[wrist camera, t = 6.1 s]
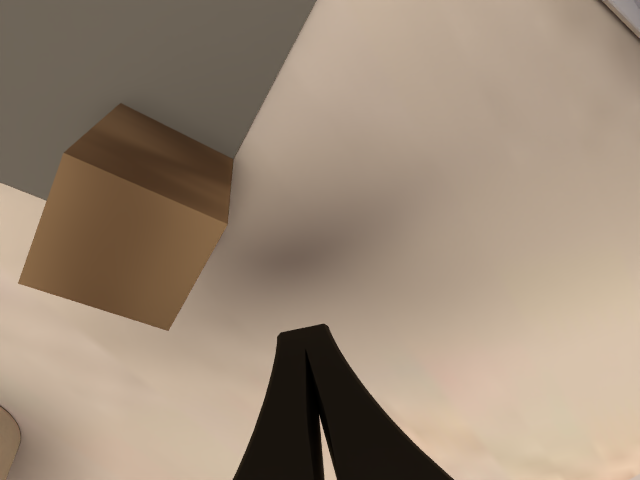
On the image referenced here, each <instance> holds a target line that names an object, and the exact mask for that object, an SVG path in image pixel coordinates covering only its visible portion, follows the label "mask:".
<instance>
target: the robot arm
mask: <svg viewBox="0 0 640 480" xmlns="http://www.w3.org/2000/svg"><path fill="white" fill-rule="evenodd" d="M602 1H603V2H604V3H605V4H606V5H607V6H608V7H609V8H610V9H611V10H612V11H613V12H614V13H615V14H616V15H617V16H618V17H619V18H620V19H621V20H622V21H623V22H624V23H625V24H626V25H627V26H628V27H629V28H630V29H631V30H632V31H633V32H634V33H635V34H636V35H637V36H638V37H639V38H640V0H602ZM319 415H320V419H321V423H322V426H323V430H324V434H325V437H326V441H327V445H328V448H329V452H330V456H331V459H332V463H333V467H334V470H335V474H336V477H337V480H454V479H453V478H452V477H450V476H449V475H448V474H447V473H446V472H445V471H444V470H443V469H442V468H441V467H439V466H438V465H437V464H436V463H435V462H434V461H433V460H432V459H431V458H430V457H428V456H427V455H426V454H425V453H424V452H423V451H422V450H421V449H420V448H419V447H418V446H417V445H416V444H415V443H414V442H413V441H412V440H411V439H410V438H409V437H408V436H407V435H406V434H405V433H404V432H403V431H402V430H401V429H400V428H399V427H398V426H397V425H396V424H395V422H394V421H393V420H392V419H391V418H390V417H389V416H388V415H387V414H386V412H385V411H384V410H383V409H382V408H381V407H380V405H379V404H378V403H377V402H376V400H375V399H374V398H373V397H372V395H371V394H370V393H369V392H368V390H367V389H366V388H365V387H364V385H363V384H362V383H361V381H360V380H359V378H358V377H357V375H356V374H355V373H354V371H353V370H352V368H351V367H350V366H349V364H348V362H347V361H346V359H345V358H344V356H343V355H342V353H341V351H340V350H339V348H338V346H337V344H336V342H335V340H334V339H333V336H332V334H331V332H330V330H329V327H328V326H327V325H325V324H320V325H315V326H310V327H306V328H301V329H296V330H291V331H286V332H281V333H280V334H279V335H278V336H277V347H276V354H275V359H274V364H273V369H272V373H271V377H270V381H269V384H268V388H267V392H266V395H265V399H264V402H263V405H262V408H261V411H260V414H259V417H258V420H257V423H256V426H255V428H254V431H253V434H252V436H251V439H250V442H249V444H248V446H247V449H246V451H245V454H244V456H243V458H242V461H241V463H240V465H239V468H238V470H237V472H236V474H235V476H234V478H233V480H324V468H323V456H322V444H321V432H320V420H319Z"/></svg>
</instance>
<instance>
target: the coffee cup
mask: <svg viewBox="0 0 640 480" xmlns="http://www.w3.org/2000/svg"><path fill="white" fill-rule="evenodd" d="M20 439H21V435H20V430H19V427H18V425H17V423H16V422H15V420H14V419H13V418H12V416H11V415H10V414H9V413H8V412H6V411H5V410H4V409H3V408H1V407H0V480H6V478H7V475H8V473H9V470H10V468H11V465H12V463H13V460H14V458H15V455H16V452H17V450H18V447H19V444H20Z"/></svg>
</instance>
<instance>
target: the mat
mask: <svg viewBox="0 0 640 480" xmlns="http://www.w3.org/2000/svg"><path fill="white" fill-rule="evenodd" d="M316 1H317V0H0V183H3V184H5V185H8V186H11V187H13V188H16V189H18V190H21V191H23V192H26V193H29V194H31V195H34V196H36V197H39V198H41V199H44V200H46V201H47V199H48V196H49V193H50V190H51V187H52V184H53V181H54V178H55V176H56V173H57V170H58V167H59V164H60V161H61V158H62V155H63V153H64V152H65V151H66V150H67V149H68V148H69V147H71V146H72V145H73V144H74V143H75V142H76V141H77V140H79V139H80V138H81V137H82V136H83V135H84V134H85V133H87V132H88V131H89V130H90V129H91V128H92V127H94V126H95V125H96V124H97V123H98V122H99V121H100V120H102V119H103V118H104V117H105V116H106V115H107V114H108V113H110V112H111V111H112V110H113V109H114V108H115V107H116V106H118V105H119V104H120V103H122V104H124V105H126V106H128V107H130V108H132V109H134V110H136V111H138V112H140V113H142V114H144V115H146V116H148V117H150V118H152V119H154V120H156V121H158V122H160V123H162V124H164V125H166V126H168V127H170V128H172V129H174V130H176V131H178V132H180V133H182V134H184V135H186V136H188V137H190V138H192V139H194V140H196V141H198V142H200V143H202V144H204V145H206V146H208V147H210V148H212V149H214V150H216V151H218V152H220V153H222V154H224V155H226V156H228V157H230V158H232V159H234V157H235V155H236V153H237V151H238V149H239V147H240V146H241V144H242V142H243V140H244V138H245V136H246V134H247V132H248V130H249V128H250V126H251V125H252V123H253V121H254V119H255V117H256V115H257V113H258V111H259V109H260V107H261V105H262V104H263V102H264V100H265V98H266V96H267V94H268V92H269V90H270V88H271V86H272V85H273V83H274V81H275V79H276V77H277V75H278V73H279V71H280V69H281V67H282V65H283V64H284V62H285V60H286V58H287V56H288V54H289V52H290V50H291V48H292V46H293V44H294V43H295V41H296V39H297V37H298V35H299V33H300V31H301V29H302V27H303V25H304V23H305V22H306V20H307V18H308V16H309V14H310V12H311V10H312V8H313V6H314V4H315V2H316Z"/></svg>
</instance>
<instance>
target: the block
mask: <svg viewBox="0 0 640 480" xmlns="http://www.w3.org/2000/svg"><path fill="white" fill-rule="evenodd" d="M232 169H233V159H232V158H230V157H228V156H226V155H224V154H222V153H220V152H218V151H216V150H214V149H212V148H210V147H208V146H206V145H204V144H202V143H200V142H198V141H196V140H194V139H192V138H190V137H188V136H186V135H184V134H182V133H180V132H178V131H176V130H174V129H172V128H170V127H168V126H166V125H164V124H162V123H160V122H158V121H156V120H154V119H152V118H150V117H148V116H146V115H144V114H142V113H140V112H138V111H136V110H134V109H132V108H130V107H128V106H126V105H124V104H122V103H120V104H119V105H118V106H116V107H115V108H114V109H113V110H112V111H111V112H110V113H108V114H107V115H106V116H105V117H104V118H103V119H102V120H100V121H99V122H98V123H97V124H96V125H95V126H94V127H92V128H91V129H90V130H89V131H88V132H87V133H85V134H84V135H83V136H82V137H81V138H80V139H79V140H77V141H76V142H75V143H74V144H73V145H72V146H71V147H69V148H68V149H67V150H66V151H65V152H64V153H63V155H62V158H61V161H60V164H59V167H58V170H57V173H56V176H55V178H54V181H53V184H52V187H51V190H50V193H49V196H48V199H47V202H46V204H45V207H44V210H43V213H42V216H41V219H40V222H39V225H38V227H37V230H36V233H35V236H34V239H33V242H32V245H31V248H30V251H29V253H28V256H27V259H26V262H25V265H24V268H23V271H22V274H21V276H20V279H19V282H18V284H22V285H25V286H28V287H31V288H34V289H37V290H41V291H44V292H47V293H50V294H53V295H56V296H60V297H63V298H66V299H69V300H72V301H75V302H79V303H82V304H85V305H88V306H91V307H94V308H98V309H101V310H104V311H107V312H110V313H113V314H117V315H120V316H123V317H126V318H129V319H132V320H136V321H139V322H142V323H145V324H148V325H151V326H155V327H158V328H161V329H164V330H167V331H169V329H170V327H171V325H172V323H173V322H174V320H175V318H176V316H177V314H178V313H179V311H180V309H181V307H182V305H183V304H184V302H185V300H186V298H187V296H188V295H189V293H190V291H191V289H192V287H193V286H194V284H195V282H196V280H197V278H198V277H199V275H200V273H201V271H202V269H203V268H204V266H205V264H206V262H207V260H208V259H209V257H210V255H211V253H212V251H213V250H214V248H215V246H216V244H217V242H218V241H219V239H220V237H221V235H222V233H223V232H224V230H225V228H226V226H227V224H228V214H229V203H230V192H231V180H232Z"/></svg>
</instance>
